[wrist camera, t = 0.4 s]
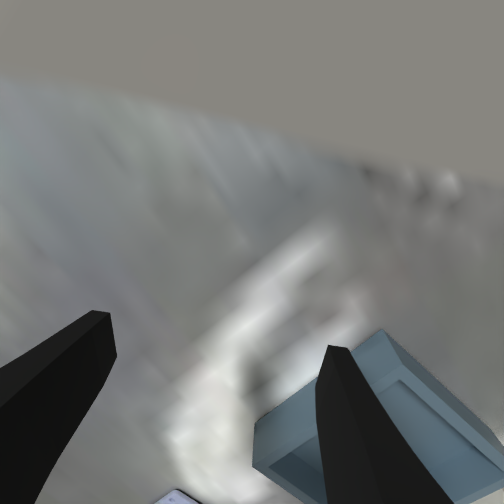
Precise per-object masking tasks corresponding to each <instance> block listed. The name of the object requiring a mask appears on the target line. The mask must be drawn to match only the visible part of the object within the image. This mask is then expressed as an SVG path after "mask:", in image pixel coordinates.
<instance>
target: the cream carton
mask: <svg viewBox="0 0 504 504" xmlns="http://www.w3.org/2000/svg"><path fill="white" fill-rule="evenodd" d="M470 504H504V488H502V489H500V490H497V491H495V492H493V493H491V494H489V495H487V496H485V497H483V498H481V499H479V500H476V501H474V502H472V503H470Z"/></svg>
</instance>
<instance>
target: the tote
mask: <svg viewBox="0 0 504 504" xmlns="http://www.w3.org/2000/svg"><path fill="white" fill-rule="evenodd" d="M350 353H351V354H352V356H353V358H354V360H355V361H356V363H357V365H358V367H359V368H360V370H361V372H362V373H363V375H364V377H365V379H366V380H367V382H368V383H369V385H370V387H371V388H372V390H373V392H374V393H375V395H376V397H377V398H378V400H379V401H380V403H381V404H382V406H383V407H384V409H385V410H386V412H387V414H388V415H389V417H390V418H391V420H392V421H393V423H394V424H395V426H396V427H397V429H398V430H399V431H400V433H401V434H402V436H403V437H404V439H405V440H406V441H407V443H408V444H409V446H410V447H411V448H412V450H413V451H414V453H415V454H416V455H417V457H418V458H419V459H420V461H421V462H422V463H423V465H424V466H425V467H426V469H427V470H428V471H429V472H430V474H431V475H432V476H433V478H434V479H435V480H436V481H437V483H438V484H439V485H440V486H441V488H442V489H443V490H444V491H445V493H446V494H447V495H448V496H449V498H450V499H451V500H452V501H453V502H454V504H470V503H472V502H474V501H476V500H479V499H481V498H483V497H485V496H487V495H489V494H491V493H493V492H495V491H497V490H500V489H502V488H504V446H503V445H502V444H501V442H500V441H499V440H498V438H497V437H496V436H495V434H494V433H493V432H492V430H491V429H490V428H489V427H488V426H486V425H485V424H484V423H483V422H482V421H481V420H480V419H479V418H478V417H477V416H476V415H475V414H474V413H472V412H471V411H470V410H469V409H468V408H467V407H466V406H465V405H464V404H463V403H462V402H461V401H459V400H458V399H457V398H456V397H455V396H454V395H453V394H452V393H451V392H450V391H449V390H448V389H447V388H445V387H444V386H443V385H442V384H441V383H440V382H439V381H438V380H437V379H436V378H435V377H434V376H433V375H431V374H430V373H429V372H428V371H427V370H426V369H425V368H424V367H423V366H422V365H421V364H420V363H418V362H417V361H416V360H415V359H414V358H413V357H412V356H411V355H410V354H409V353H408V352H407V351H406V350H404V349H403V348H402V347H401V346H400V345H399V344H398V343H397V342H396V341H395V340H394V339H393V338H391V337H390V336H389V335H388V334H387V333H386V332H385V331H384V330H383V329H381V330H380V331H379V332H377V333H376V334H374V335H373V336H372V337H370V338H369V339H368V340H366V341H365V342H364V343H362V344H361V345H360V346H358V347H357V348H356V349H354V350H353V351H352V352H350ZM317 378H318V377H317ZM317 378H315V379H314V380H313V381H311V382H310V383H308V384H307V385H306V386H304V387H303V388H302V389H300V390H299V391H298V392H296V393H295V394H294V395H292V396H291V397H290V398H288V399H287V400H286V401H284V402H283V403H282V404H280V405H279V406H277V407H276V408H275V409H273V410H272V411H271V412H269V413H268V414H267V415H265V416H264V417H263V418H261V419H260V420H259V421H257V422H256V423H255V427H254V443H253V459H252V467H253V468H255V469H256V470H258V471H259V472H261V473H262V474H263V475H265V476H266V477H268V478H269V479H271V480H272V481H273V482H275V483H276V484H278V485H279V486H281V487H282V488H283V489H285V490H286V491H288V492H289V493H291V494H292V495H293V496H295V497H296V498H298V499H299V500H301V501H302V502H303V503H305V504H327V496H326V489H325V482H324V475H323V468H322V460H321V453H320V446H319V439H318V431H317V424H316V408H315V385H316V382H317Z"/></svg>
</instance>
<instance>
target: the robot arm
mask: <svg viewBox="0 0 504 504" xmlns="http://www.w3.org/2000/svg"><path fill="white" fill-rule="evenodd" d="M116 358H117V353H116V347H115V340H114V334H113V328H112V322H111V316H110V313H108V312H101V311H95V310H92V311H90V312H88V313H87V314H85V315H83V316H82V317H80V318H79V319H77V320H76V321H74V322H73V323H71V324H70V325H68V326H67V327H65V328H63V329H62V330H60V331H59V332H57V333H56V334H54V335H53V336H51V337H50V338H48V339H47V340H45V341H43V342H42V343H40V344H39V345H37V346H36V347H34V348H33V349H31V350H29V351H28V352H26V353H25V354H23V355H21V356H20V357H18V358H16V359H15V360H13V361H11V362H10V363H8V364H6V365H5V366H3V367H1V368H0V504H34V503H35V501H36V499H37V497H38V495H39V493H40V492H41V490H42V488H43V486H44V484H45V482H46V480H47V478H48V476H49V474H50V472H51V471H52V469H53V467H54V465H55V464H56V462H57V460H58V458H59V457H60V455H61V453H62V452H63V450H64V449H65V447H66V445H67V444H68V442H69V441H70V439H71V437H72V436H73V434H74V433H75V431H76V429H77V428H78V426H79V425H80V423H81V421H82V420H83V418H84V417H85V415H86V413H87V412H88V410H89V409H90V407H91V405H92V404H93V402H94V400H95V399H96V397H97V396H98V394H99V392H100V391H101V389H102V387H103V385H104V383H105V381H106V379H107V377H108V375H109V373H110V371H111V369H112V367H113V364H114V362H115V360H116ZM315 408H316V424H317V431H318V439H319V446H320V453H321V460H322V468H323V475H324V482H325V489H326V496H327V504H454V502H453V501H452V500H451V499H450V498H449V496H448V495H447V494H446V493H445V491H444V490H443V489H442V488H441V486H440V485H439V484H438V483H437V481H436V480H435V479H434V478H433V476H432V475H431V474H430V472H429V471H428V470H427V469H426V467H425V466H424V465H423V463H422V462H421V461H420V459H419V458H418V457H417V455H416V454H415V453H414V451H413V450H412V448H411V447H410V446H409V444H408V443H407V441H406V440H405V439H404V437H403V436H402V434H401V433H400V431H399V430H398V429H397V427H396V426H395V424H394V423H393V421H392V420H391V418H390V417H389V415H388V414H387V412H386V410H385V409H384V407H383V406H382V404H381V403H380V401H379V400H378V398H377V397H376V395H375V393H374V392H373V390H372V388H371V387H370V385H369V383H368V382H367V380H366V379H365V377H364V375H363V373H362V372H361V370H360V368H359V367H358V365H357V363H356V361H355V360H354V358H353V356H352V354H351V353H350V351H349V350H348V348H345V347H339V346H332V345H328V347H327V350H326V353H325V356H324V360H323V363H322V366H321V369H320V372H319V375H318V378H317V382H316V385H315ZM155 504H199V503H197V502H196V501H194V500H193V499H191V498H189V497H188V496H186V495H185V494H183V493H182V492H180V491H178V490H173V491H171V492H170V493H169V494H167V495H166V496H164V497H163V498H162V499H160V500H159V501H158V502H156V503H155Z"/></svg>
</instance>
